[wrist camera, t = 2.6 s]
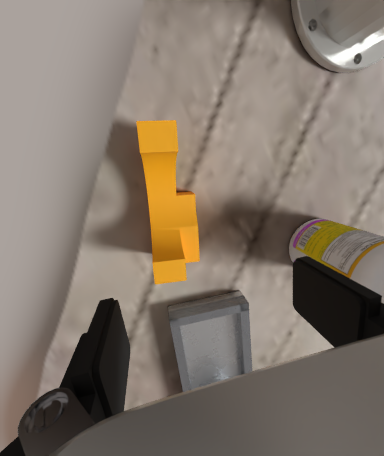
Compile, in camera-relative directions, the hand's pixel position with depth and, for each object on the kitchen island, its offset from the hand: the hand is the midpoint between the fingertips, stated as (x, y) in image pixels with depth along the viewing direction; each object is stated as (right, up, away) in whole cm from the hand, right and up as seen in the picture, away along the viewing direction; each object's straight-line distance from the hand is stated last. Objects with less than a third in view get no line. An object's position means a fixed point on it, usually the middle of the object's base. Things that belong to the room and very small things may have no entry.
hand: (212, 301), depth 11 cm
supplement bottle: (+14, +2, +15) cm, 21 cm away
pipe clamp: (-3, +7, +11) cm, 14 cm away
